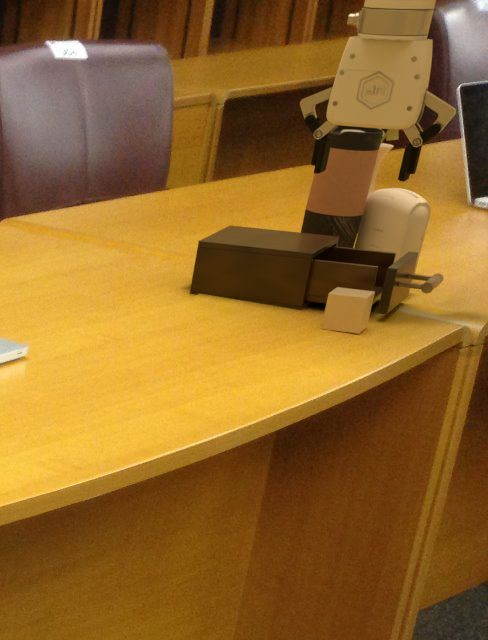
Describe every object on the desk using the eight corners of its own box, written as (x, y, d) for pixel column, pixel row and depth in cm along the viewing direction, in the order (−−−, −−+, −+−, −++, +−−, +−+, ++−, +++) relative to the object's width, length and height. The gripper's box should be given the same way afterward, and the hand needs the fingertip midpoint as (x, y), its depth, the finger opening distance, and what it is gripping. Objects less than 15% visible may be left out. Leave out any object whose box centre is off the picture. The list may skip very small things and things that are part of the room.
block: (367, 327, 194) (375, 291, 192) (359, 334, 191) (367, 297, 189) (329, 322, 196) (337, 286, 194) (320, 328, 193) (328, 293, 191)
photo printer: (343, 269, 225) (365, 182, 219) (368, 269, 226) (391, 182, 220) (390, 286, 216) (414, 196, 210) (416, 285, 217) (441, 196, 211)
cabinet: (327, 292, 212) (339, 236, 209) (300, 311, 202) (312, 253, 198) (219, 279, 220) (229, 225, 217) (188, 297, 209) (198, 240, 206)
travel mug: (345, 268, 226) (381, 126, 217) (349, 279, 220) (387, 134, 211) (289, 263, 229) (323, 122, 219) (292, 274, 222) (327, 130, 213)
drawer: (441, 300, 204) (452, 255, 201) (421, 319, 194) (433, 272, 191) (302, 283, 213) (311, 241, 210) (277, 300, 203) (286, 256, 201)
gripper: (309, 23, 182) (279, 173, 190) (470, 30, 173) (431, 187, 181) (324, 21, 188) (295, 166, 195) (481, 27, 178) (443, 179, 186)
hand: (360, 176), depth 188 cm, fingers open, 9 cm apart
